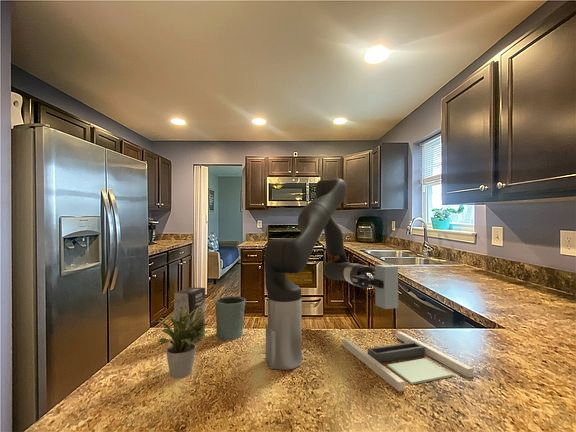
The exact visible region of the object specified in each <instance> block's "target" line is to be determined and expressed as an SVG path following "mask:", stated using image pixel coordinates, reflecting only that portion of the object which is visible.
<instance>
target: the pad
mask: <svg viewBox="0 0 576 432" xmlns="http://www.w3.org/2000/svg"><path fill="white" fill-rule="evenodd" d="M386 366H387V367H386V368H389V370H390V371H392V372H393V373H394V374H396V375H397V376H398V377H399V376H400V378H401V379H404V381H406V382H408V383H409V385H410V384H411V385H417V384H422V383H427V382H432V381H437V380H442V379H447V378H452V377H453V374H452V373H451V372H449V371H447V370H445V369H444V368H442V367H440V366H438V365H437V364H435V363H434V362H431V361H430V360H428V359H427V358H419V359H412V360H407V361H401V362H400V361H399V362H395V363H389V364H386Z"/></svg>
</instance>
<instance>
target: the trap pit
mask: <svg viewBox="0 0 576 432" xmlns="http://www.w3.org/2000/svg"><path fill="white" fill-rule="evenodd" d="M367 354H368V355H370V356H371V357H373V358H374V359H375V360H377V361H378V362H379V363H381V364H384V363H385V364H386V363H392V362H398V361H399V362H400V361H403V360H404V361H405V360H411V359H416V358H421V357H425V356H426V354H425V347H424V346H422V345H420V344H418V343H416V342H410V343H405V342H404V343H397V344H390V345H382V346H377V347H376V346H375V347H369V348H367Z"/></svg>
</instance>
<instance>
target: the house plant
mask: <svg viewBox="0 0 576 432" xmlns="http://www.w3.org/2000/svg"><path fill="white" fill-rule="evenodd" d="M195 309H196V308H195ZM195 309H194V310H193V311H192V312H191V313H190V314H189V315H188V310H189V309H188V308H187V309H186V310H185V312H184V314H183V317H182V306H181V308H180V313H179V330H178V326H177V322H176V320H175V319H174V315H172V314H171V313H168V315H167V314H165V316H166V317H169V318H170V321H171V323H172V325H173V329H174V330H175V334H176V337H175V335H174V332H173V329H172V327H171V325H170V324H169V322H167V321H166V319H164V318H162V317H160V319H162V320H163V321H162V320H160V319H157V321H153V323H155V322H158V323H160V324H162V325H163V326H164V327H165V328H163V329H162V330H161V331H162V332H163V333H165V334H167V335H168V336H169V337H170V338H171V339H172V340H171V339H168V338H164V337H161V338H160V339H159V340H158V342H157V344H159V346H161V345H163V344H166V343H170V344H171V345H169V346H168V347H167V348H166V351H165V352H166V358H167V359H166V360H167V365H168V372H169V377H170V378H173V379H182V378H186V377H188V376H190V375H191V374H192V371H193V366H194V361H195V357H196V356H195V354H196V350H197V349H196V348H197V345H196V344H195V343H191V342H192V341H193V340H194V339H195V338H196V337H201V336H203V337H205V338H207V336H206V335H204V334H198V335H195V334H196V333H199V332H201V333H202V332H205V334H207V335H209V333H208V331H206V330H205V331H203V330H201V331H197V332H195V333H194V331H195V330H196V329H198V328H200V327H202V326H205V327H206V326H207V325H208V326H209V325H211V323H205V324H200V325H197V326H194V327H192V326H193V325H194V323H195V322H196V321H198V319H199V317H200V316H201V315H202V314H203V313H205V314H206V312H207V310H205V312H203V313H201V314H200V315H198V316H197V317H196V318H195V319H194V321H193V322H192V323H191V324H190V325H189V326H187V327H189V328H188V329H185V328H187V327H186V324H187V322H188V320H189V318H190V317H191V315H192V313H193V312H194V311H195ZM202 319H205V320H206V319H207V317H205V318H202ZM199 320H201V319H199ZM164 321H165V322H164ZM199 322H202V321H199ZM199 322H197V323H199ZM197 323H196V324H197ZM191 327H192V328H191ZM193 333H194V334H193ZM192 334H193V335H195V336H193V335H192ZM191 335H192V336H193V337H192V336H191ZM191 337H192V338H191ZM193 338H194V339H193ZM191 339H193V340H192V341H191ZM173 341H174V342H173Z"/></svg>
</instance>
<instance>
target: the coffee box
mask: <svg viewBox="0 0 576 432" xmlns="http://www.w3.org/2000/svg"><path fill="white" fill-rule="evenodd" d="M173 295H174V298H173V300H174V301H173V304H174V305H173V317H174V319H175V320H176V322H177V326H178V330H179V313H180V308H181V306H182V317H183V314H184V312H185V310H186V309H187V308H188V309H189V310H188V315H189V314H190V313H191V312H192V311H193V310H194V309H195V308H196V309H195V311H194V312H193V313H192V315H191V317H190V318H189V320H188V322H187V324H186V327H187V326H189V325H190V324H191V323H192V322H193V321H194V319H195V318H196V317H197V316H198V315H200V314H201V313H203V312H205V311H206V287H187V288H185V289H181V290H178V291H176V292H174V294H173ZM202 318H206V312H205V313H203V314H202V315H201V316H200V317H199V319H201V320H199V319H198V321H196V322H195V323H194V325H193V326H192V327H194V326H197V325H200V324H206V322H205V321H206V319H202ZM199 321H202V322H199ZM197 322H199V323H197ZM196 323H197V324H196ZM192 327H191V328H192ZM205 327H206V325H205V326H202V327H200V328H198V329H196V330H195V331H194V333H195V332H197V331H201V330H203V331H206V330H205ZM188 328H189V327H187V328H185V329H188ZM172 330H173V332H174V335H175V337H176V334H175V330H174V328H173V329H172ZM194 333H193V334H194ZM193 334H192V335H193ZM198 334H204V335H205V334H206V333H205V332H202V333H201V332H199V333H196V334H195V335H198ZM192 335H191V336H192ZM195 335H193V336H195ZM193 336H192V337H193ZM205 336H206V335H205ZM192 337H191V338H192ZM203 337H204V336H201V337H196V338H195V339H194V338H193V339H194V340H193V339H191V341H192V340H193V341H192V342H191V343H194V344H195V343H197V342H198V341H199V340H201V339H202V338H203ZM172 341H173V340H172ZM173 342H174V341H173Z"/></svg>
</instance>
